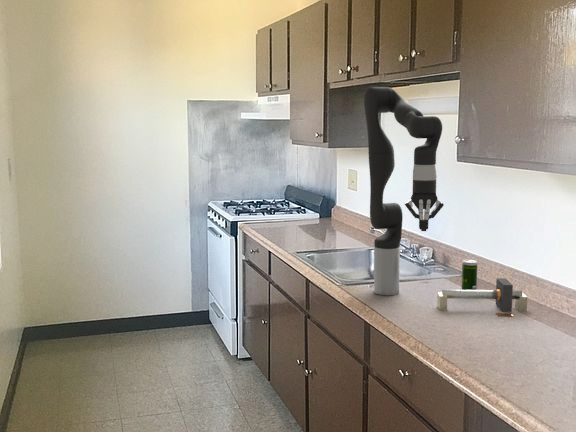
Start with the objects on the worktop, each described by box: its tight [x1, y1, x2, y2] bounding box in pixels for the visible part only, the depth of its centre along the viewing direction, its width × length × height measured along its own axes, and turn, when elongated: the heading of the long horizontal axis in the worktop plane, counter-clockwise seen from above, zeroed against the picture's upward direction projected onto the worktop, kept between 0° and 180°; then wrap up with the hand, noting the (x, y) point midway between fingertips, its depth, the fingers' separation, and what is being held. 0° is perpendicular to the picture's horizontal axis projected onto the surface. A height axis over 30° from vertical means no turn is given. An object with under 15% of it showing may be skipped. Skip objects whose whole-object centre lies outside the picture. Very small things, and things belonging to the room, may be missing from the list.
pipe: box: [436, 289, 528, 318], centre depth 214 cm, size 28×11×7 cm, turn 86°
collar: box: [495, 277, 514, 313], centre depth 216 cm, size 3×9×9 cm, turn 176°
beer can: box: [461, 259, 478, 290], centre depth 236 cm, size 5×5×12 cm
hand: (423, 230), depth 213 cm, fingers closed
